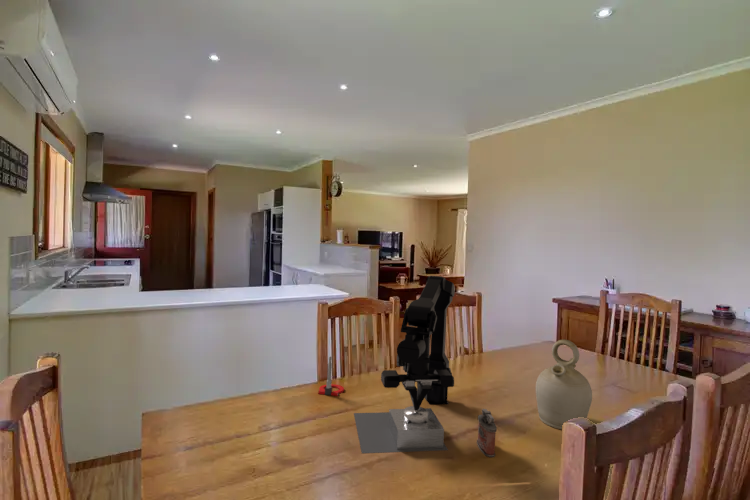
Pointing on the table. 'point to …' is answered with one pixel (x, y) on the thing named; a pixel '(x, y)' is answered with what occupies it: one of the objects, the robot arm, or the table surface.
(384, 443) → the mat
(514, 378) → the table surface
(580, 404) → the jug
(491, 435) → the lighter
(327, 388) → the tow hook
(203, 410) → the table surface
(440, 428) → the hitch block
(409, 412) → the silver door knob
